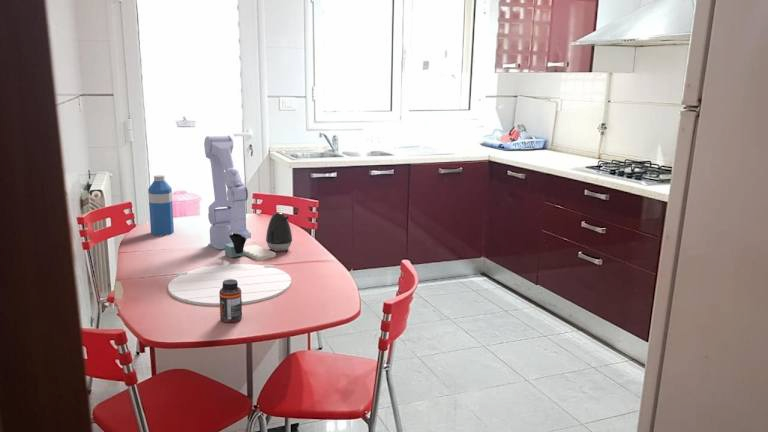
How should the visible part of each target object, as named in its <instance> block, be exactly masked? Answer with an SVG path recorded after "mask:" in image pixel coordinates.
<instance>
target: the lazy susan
mask: <svg viewBox="0 0 768 432" xmlns="http://www.w3.org/2000/svg"><path fill="white" fill-rule="evenodd" d="M222 262H223V263H222V264H219V265H212V266H206V267H200V268H197V269H193V270H190V271H183V272H178V273H176V275H175V276H176V277H174V278H173V279H172V280H171V281H170V282H169V283H168V288H167V289H168V290H167V291H168V293H169V294H170V296H172V297H173V298H175V300H178V301H181V302H184V303H187V304H193V305H198V306H205V307H206V306H209V307H212V306H213V307H220V297H219V296H220V293H219V292H220V289H222V288H223V281H224V280H228V279H234V280H237V283H238V286H237V287H239V288H240V289H241V297H242V306H243V305H249V304H254V303H259V302H263V301H267V300H270V299H273V298H277V297H278V296H280V295H283V294H284V293H285V292H287V291H288V290H289V289H290V288H291V286H292V277H291V276H290V275H289V274H288V273H287V272H286V271H284V270H282V269H279V268H275V267H276V266H275V265H273V264H267V265H266V264H264V265H261V264H260V265H259V264H250V263H235V264H234V263H231V264H230V262H229V261H227V260H223V261H222ZM288 288H289V289H288ZM287 289H288V290H287ZM286 290H287V291H286ZM284 291H285V292H284Z"/></svg>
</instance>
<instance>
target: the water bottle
mask: <svg viewBox="0 0 768 432" xmlns="http://www.w3.org/2000/svg"><path fill="white" fill-rule="evenodd" d="M147 191H148V193H147V194H148V206H149V207H148V209H149V221H150V223H149V224H150V226H149V227H150V235H152V236H156V237H157V236H159V237H160V236H162V237H163V236H169V235H172V234H173V233H174V232H175V229H174V228H175V227H174V208H173V191H172V187H171V185H170V184H169V183H168V182H167V181H166V180H165V175H163V174H161V175H160V174H155V175H154V176H153V181H152V183H151V185H149V187H148V189H147Z"/></svg>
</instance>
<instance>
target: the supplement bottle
mask: <svg viewBox="0 0 768 432" xmlns="http://www.w3.org/2000/svg"><path fill="white" fill-rule="evenodd" d="M237 286H238V283H237V280H234V279H228V280H224V281H223V288H222V289H220V292H219V293H220V296H219V297H220V306H219V313H220V314H219V316H220V321H222V322H223V323H226V324H229V323H232V324H234V323H237V322H239V321H241V320H242V318H243V305H242V297H241V289H240V288H239V287H237Z"/></svg>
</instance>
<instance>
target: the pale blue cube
mask: <svg viewBox="0 0 768 432" xmlns="http://www.w3.org/2000/svg"><path fill="white" fill-rule="evenodd" d="M224 255H225V256H227V257H229V258H236V257H241V256H244V254H243V252H242V253H240V254H237V253H236V252H235V248H234V245H233V243H230V244H225V249H224Z"/></svg>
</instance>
